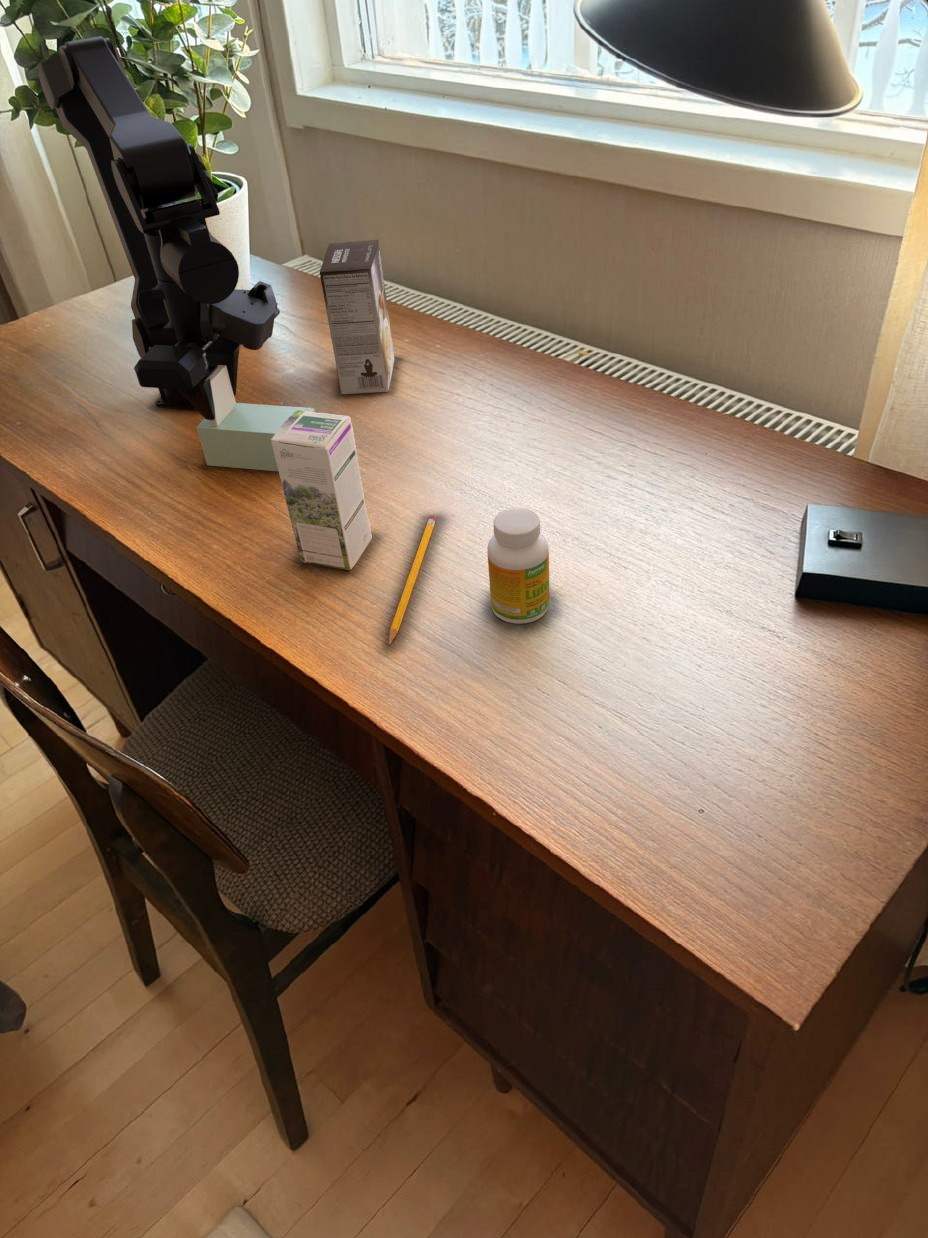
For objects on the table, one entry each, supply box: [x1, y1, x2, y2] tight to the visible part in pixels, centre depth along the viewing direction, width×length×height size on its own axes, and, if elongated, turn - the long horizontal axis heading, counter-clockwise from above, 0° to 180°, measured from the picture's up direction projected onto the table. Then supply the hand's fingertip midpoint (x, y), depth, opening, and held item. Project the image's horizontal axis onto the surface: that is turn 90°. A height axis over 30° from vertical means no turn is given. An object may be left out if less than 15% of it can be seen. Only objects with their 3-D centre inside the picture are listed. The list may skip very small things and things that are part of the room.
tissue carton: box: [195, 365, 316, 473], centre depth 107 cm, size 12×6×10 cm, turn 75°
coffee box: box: [319, 239, 395, 395], centre depth 117 cm, size 9×6×16 cm
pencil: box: [388, 515, 437, 645], centre depth 91 cm, size 1×19×1 cm, turn 170°
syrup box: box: [271, 410, 373, 571], centre depth 90 cm, size 6×6×14 cm
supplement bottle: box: [487, 507, 550, 625], centre depth 84 cm, size 5×5×10 cm
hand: (221, 407), depth 107 cm, fingers closed on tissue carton, 5 cm apart
